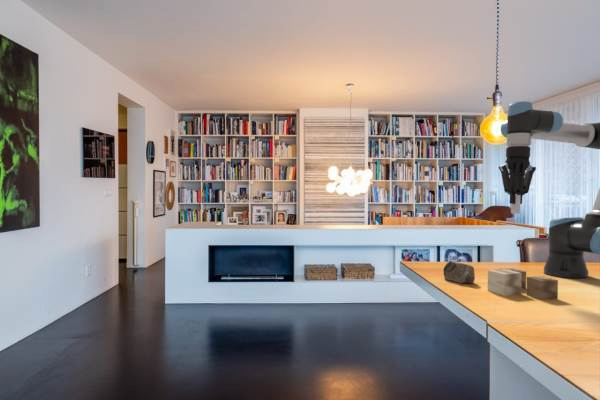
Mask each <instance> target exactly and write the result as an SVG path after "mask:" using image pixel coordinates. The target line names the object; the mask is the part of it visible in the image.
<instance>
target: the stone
mask: <svg viewBox="0 0 600 400" xmlns="http://www.w3.org/2000/svg"><path fill="white" fill-rule="evenodd" d="M443 276H444V277H443V278H444V279H445V280H448V281H451V282H455V283H459V284H465V283H468V284H473V283H474V282H475V279H476V277H475V276H476V275H475V269H474V266H473V265H470V264H468V263H467V264H466V263H462V262H456V261H453V260H450V261H449V262H447V263H446V264H445V266H444V268H443Z"/></svg>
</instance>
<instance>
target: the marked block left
mask: <svg viewBox="0 0 600 400" xmlns="http://www.w3.org/2000/svg"><path fill="white" fill-rule="evenodd" d="M558 284H559V281H558V279H555V278H551V277H547V276H544V275H542V276H538V275H537V276H536V275H535V276H526V290H525V291H526V296H528V297H531V298H534V299H536V300H539V301H543V300H545V301H546V300H547V301H549V300H551V301H552V300H558V297H559V293H558V292H559V291H558V290H559V289H558V288H559V285H558Z"/></svg>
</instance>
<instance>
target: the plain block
mask: <svg viewBox="0 0 600 400" xmlns="http://www.w3.org/2000/svg"><path fill="white" fill-rule="evenodd" d="M506 269H507V268H498V269H488V270H487V291H488V292H490V293H493V294H498V295H500V296H503V297H506V296H515V295H516V296H517V295H522V289H521V280H522V273H519V272H515V271H510V270H506Z"/></svg>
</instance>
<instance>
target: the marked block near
mask: <svg viewBox="0 0 600 400" xmlns="http://www.w3.org/2000/svg"><path fill="white" fill-rule="evenodd" d="M505 269H506V270H510V271H515V272H519V273H522V280H521V290H525V289H526V290H527V271H526V270H522V269H518V268H514V267H512V268H509V267H508V268H505Z"/></svg>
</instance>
